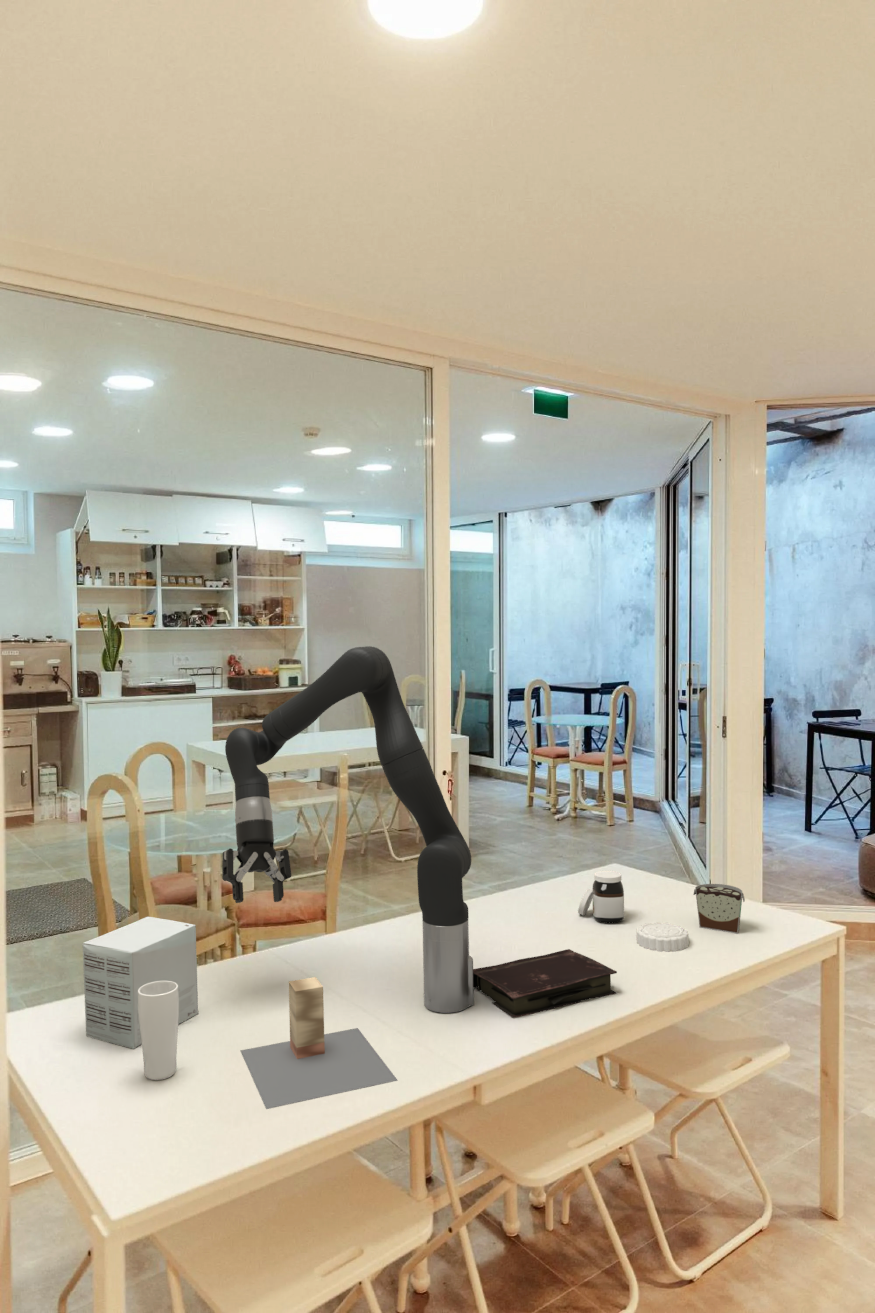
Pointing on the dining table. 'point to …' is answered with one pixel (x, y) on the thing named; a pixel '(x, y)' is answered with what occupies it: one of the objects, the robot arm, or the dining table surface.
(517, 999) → the diary
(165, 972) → the supplement box
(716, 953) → the dining table surface
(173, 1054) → the drinking glass
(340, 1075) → the rubber mat
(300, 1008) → the oak block
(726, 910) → the food container
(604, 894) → the spread jar
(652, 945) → the mooncake
